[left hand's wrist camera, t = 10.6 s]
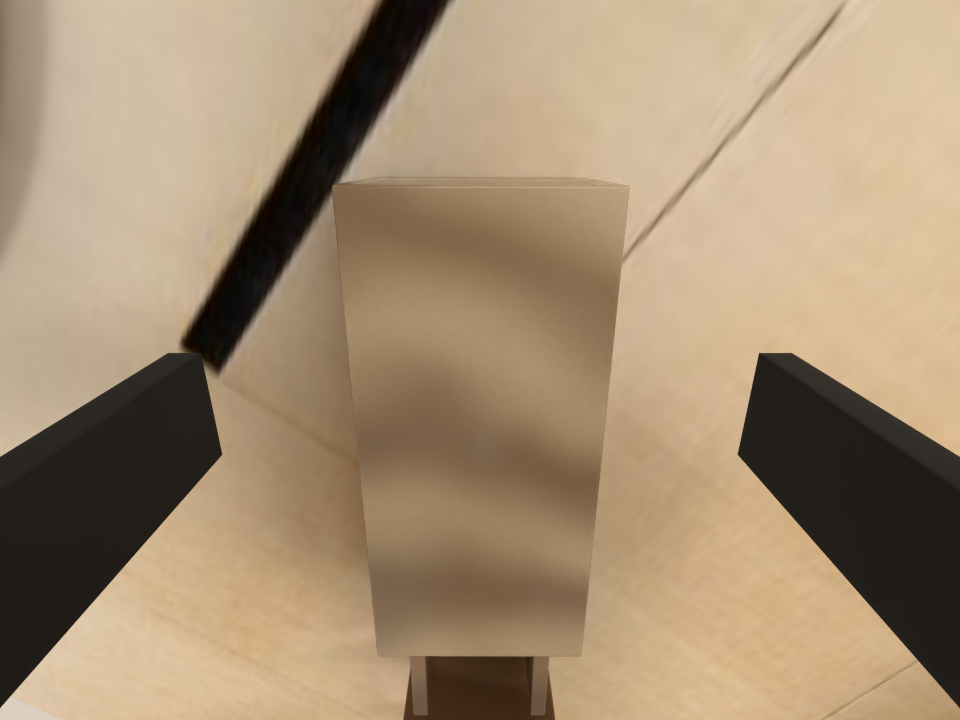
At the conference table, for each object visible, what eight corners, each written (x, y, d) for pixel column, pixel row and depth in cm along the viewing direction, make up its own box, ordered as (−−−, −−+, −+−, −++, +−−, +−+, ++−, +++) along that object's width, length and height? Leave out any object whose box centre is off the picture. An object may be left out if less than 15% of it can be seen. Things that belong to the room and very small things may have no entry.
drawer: (539, 713, 36) (550, 817, 31) (418, 713, 36) (407, 817, 31) (562, 371, 27) (584, 429, 21) (398, 370, 27) (375, 428, 21)
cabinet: (558, 541, 32) (581, 657, 24) (401, 541, 32) (377, 657, 24) (584, 177, 24) (630, 185, 17) (376, 177, 24) (330, 184, 17)
